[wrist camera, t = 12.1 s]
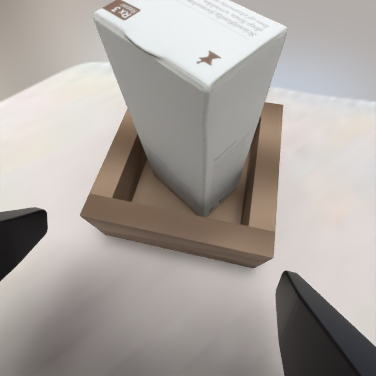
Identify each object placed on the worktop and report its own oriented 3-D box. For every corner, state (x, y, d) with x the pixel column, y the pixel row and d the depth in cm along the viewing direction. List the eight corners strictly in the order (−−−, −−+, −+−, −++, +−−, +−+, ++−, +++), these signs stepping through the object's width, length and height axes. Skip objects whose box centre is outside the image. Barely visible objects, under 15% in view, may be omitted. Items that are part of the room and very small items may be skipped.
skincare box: (239, 185, 18) (306, 21, 8) (201, 224, 17) (214, 93, 6) (185, 142, 20) (176, -38, 10) (146, 174, 19) (85, 7, 8)
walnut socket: (253, 268, 17) (273, 257, 13) (105, 234, 18) (79, 215, 14) (266, 141, 22) (283, 105, 17) (148, 122, 23) (138, 84, 19)
